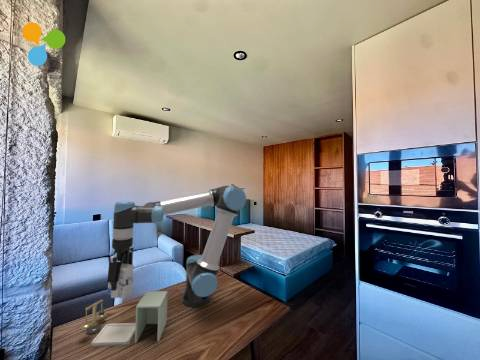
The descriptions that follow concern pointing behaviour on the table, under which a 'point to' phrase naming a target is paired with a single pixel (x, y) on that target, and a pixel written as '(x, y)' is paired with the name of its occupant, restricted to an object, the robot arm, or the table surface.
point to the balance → (93, 319)
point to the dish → (115, 335)
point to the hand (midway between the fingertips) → (119, 292)
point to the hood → (151, 312)
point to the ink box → (124, 281)
